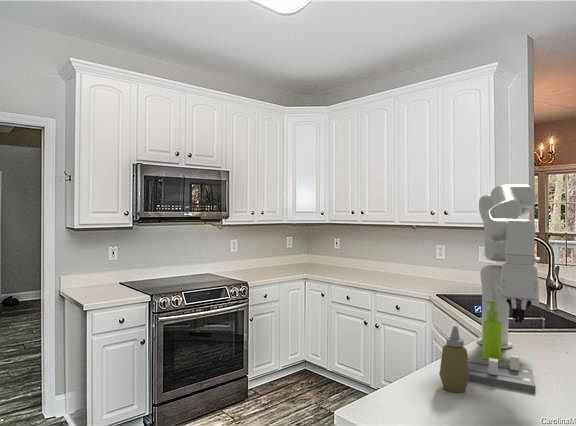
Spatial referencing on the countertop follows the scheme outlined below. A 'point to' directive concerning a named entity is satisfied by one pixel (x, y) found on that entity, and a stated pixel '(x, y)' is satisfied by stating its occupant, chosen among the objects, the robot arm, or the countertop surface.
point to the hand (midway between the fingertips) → (518, 321)
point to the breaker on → (514, 362)
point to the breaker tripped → (493, 366)
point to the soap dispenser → (492, 334)
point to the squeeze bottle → (454, 363)
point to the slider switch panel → (502, 376)
